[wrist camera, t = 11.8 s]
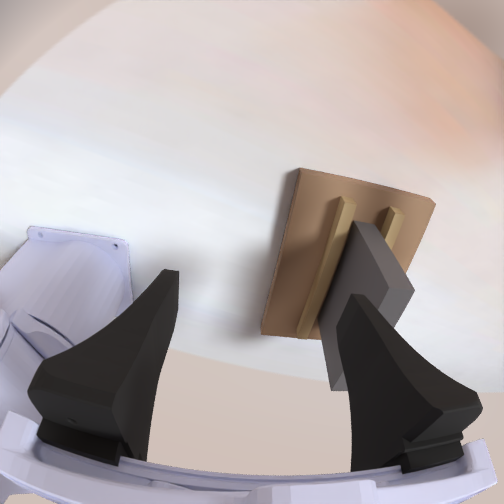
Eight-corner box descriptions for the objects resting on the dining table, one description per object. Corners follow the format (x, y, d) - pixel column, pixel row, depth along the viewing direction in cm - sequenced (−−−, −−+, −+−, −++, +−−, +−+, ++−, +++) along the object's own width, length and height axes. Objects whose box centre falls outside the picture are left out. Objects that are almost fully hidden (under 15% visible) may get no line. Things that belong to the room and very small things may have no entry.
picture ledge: (260, 326, 27) (261, 343, 25) (299, 167, 19) (304, 178, 18) (365, 334, 28) (371, 350, 26) (429, 198, 20) (442, 210, 19)
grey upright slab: (317, 318, 25) (331, 390, 19) (353, 220, 20) (389, 287, 14) (336, 320, 25) (353, 390, 19) (375, 224, 20) (416, 290, 15)
